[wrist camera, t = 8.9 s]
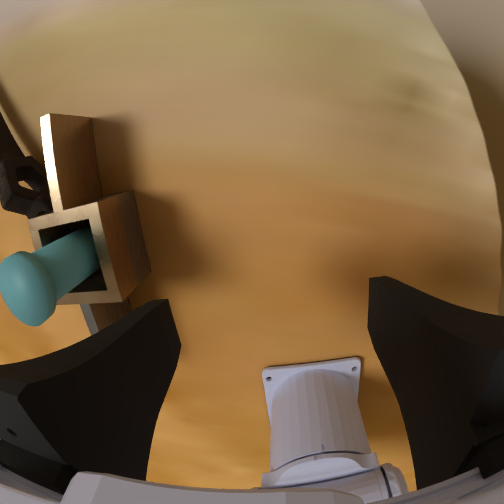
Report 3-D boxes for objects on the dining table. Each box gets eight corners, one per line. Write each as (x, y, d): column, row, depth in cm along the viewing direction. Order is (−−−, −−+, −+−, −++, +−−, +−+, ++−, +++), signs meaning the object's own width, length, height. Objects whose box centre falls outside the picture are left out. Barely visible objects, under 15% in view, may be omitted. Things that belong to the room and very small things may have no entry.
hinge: (170, 340, 24) (150, 379, 19) (108, 340, 24) (82, 374, 20) (121, 107, 18) (82, 98, 14) (57, 130, 19) (14, 131, 14)
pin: (133, 260, 22) (57, 327, 12) (92, 264, 22) (13, 324, 13) (122, 210, 21) (33, 252, 11) (81, 217, 21) (-10, 259, 12)
